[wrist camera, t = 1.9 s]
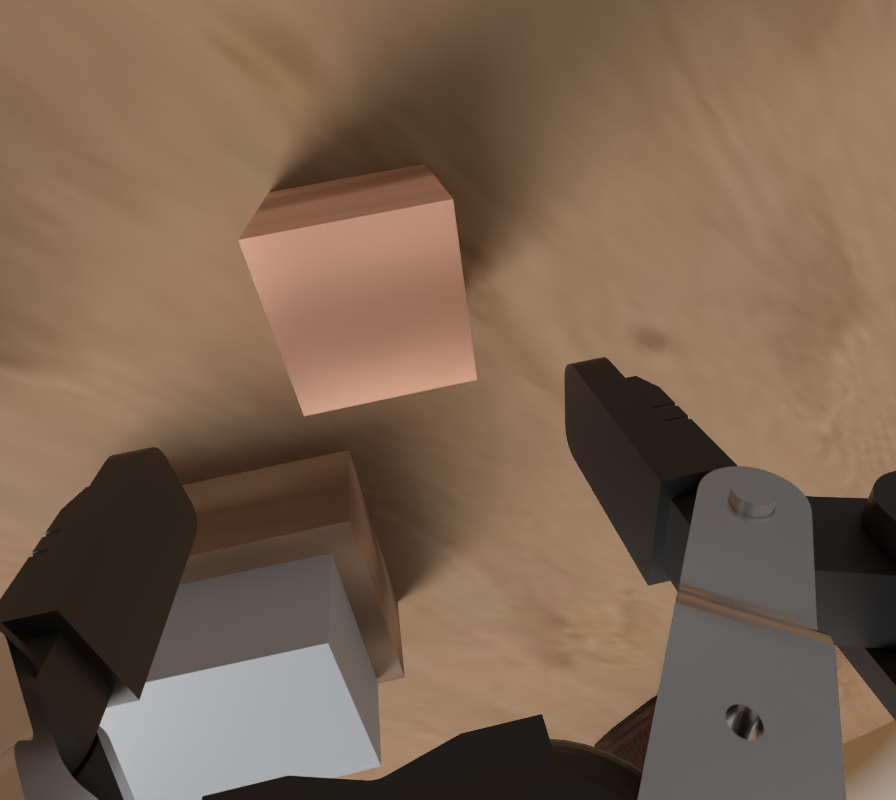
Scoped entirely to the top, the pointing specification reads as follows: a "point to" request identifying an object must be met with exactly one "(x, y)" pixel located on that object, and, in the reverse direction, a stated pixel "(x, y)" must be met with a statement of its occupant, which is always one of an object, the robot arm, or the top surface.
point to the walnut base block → (300, 538)
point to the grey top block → (251, 687)
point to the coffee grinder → (631, 736)
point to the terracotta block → (363, 287)
